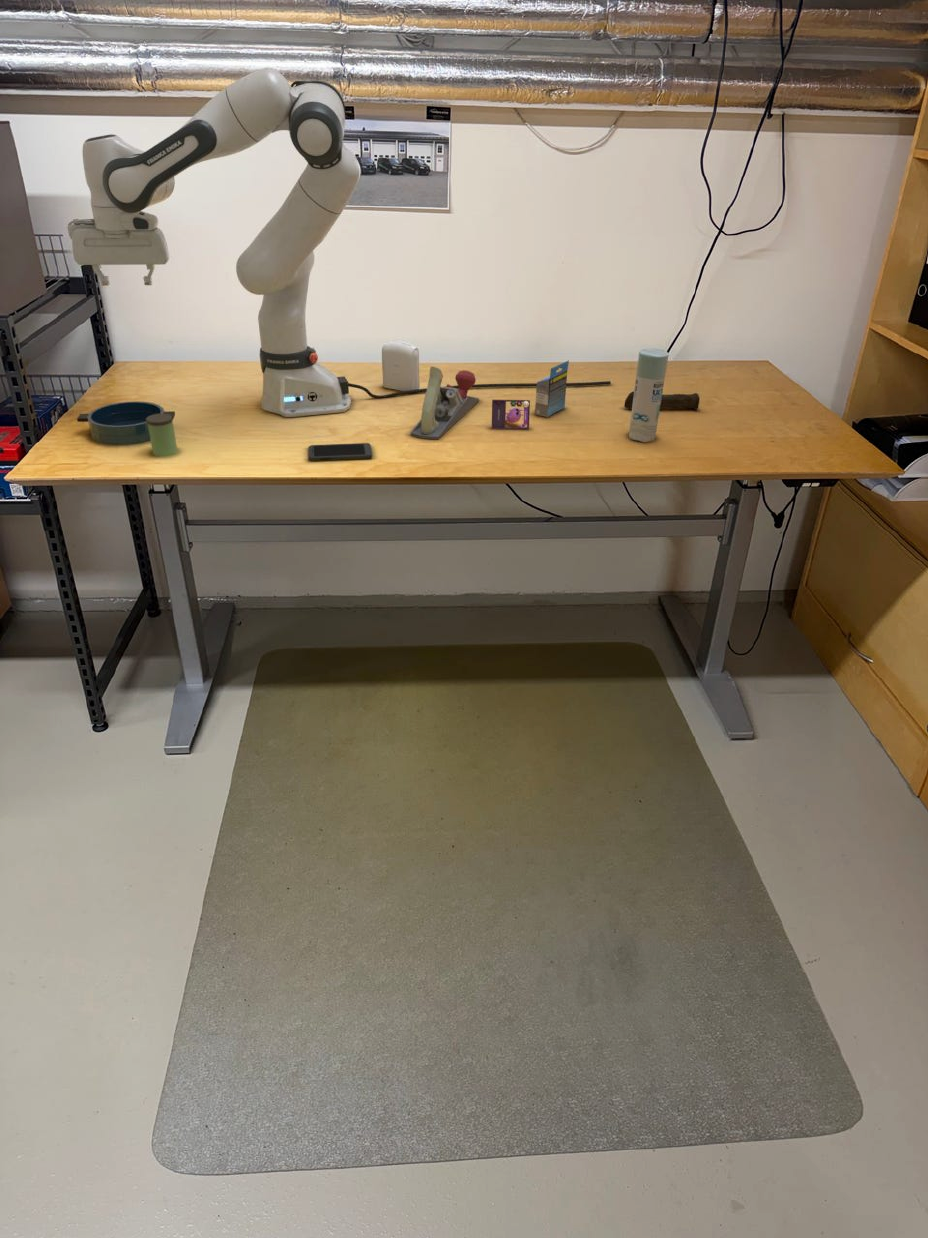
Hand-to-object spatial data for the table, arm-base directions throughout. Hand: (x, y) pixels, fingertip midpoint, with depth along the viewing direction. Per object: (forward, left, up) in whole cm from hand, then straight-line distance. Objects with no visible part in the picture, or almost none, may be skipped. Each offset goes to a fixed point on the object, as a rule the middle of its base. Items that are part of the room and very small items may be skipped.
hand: (127, 284), depth 197 cm
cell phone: (-46, +33, -29) cm, 64 cm away
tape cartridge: (-99, +10, -29) cm, 104 cm away
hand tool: (-128, +11, -29) cm, 132 cm away
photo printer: (-63, -10, -29) cm, 70 cm away
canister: (-8, +29, -29) cm, 42 cm away
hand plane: (-73, +12, -29) cm, 79 cm away
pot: (+2, +16, -29) cm, 33 cm away
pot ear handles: (+2, +16, -26) cm, 30 cm away
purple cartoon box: (-87, +19, -29) cm, 94 cm away
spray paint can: (-117, +29, -29) cm, 124 cm away
